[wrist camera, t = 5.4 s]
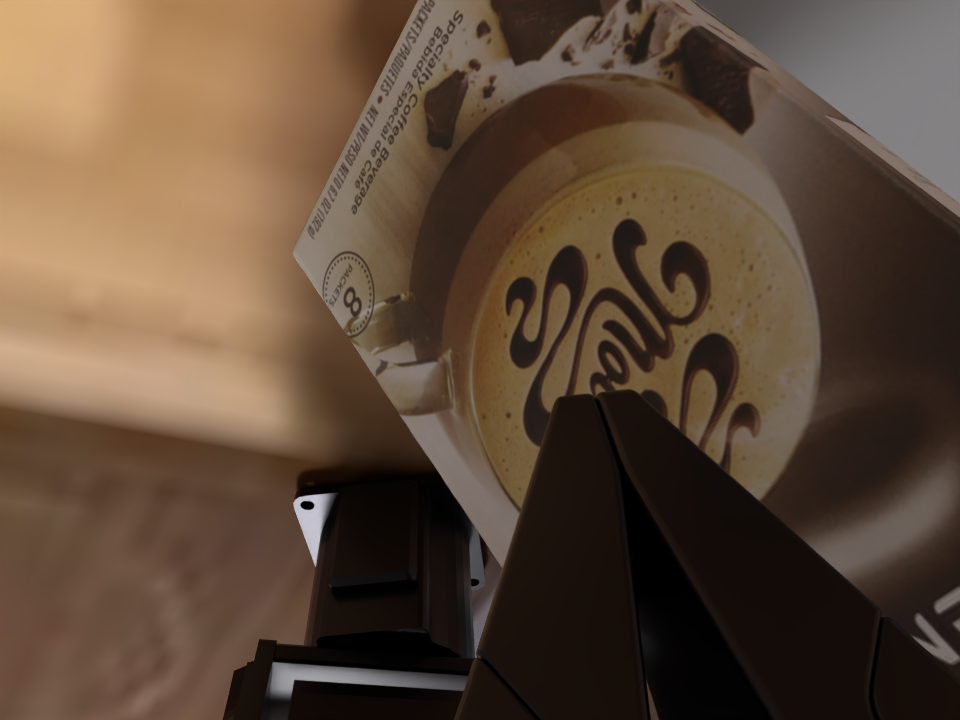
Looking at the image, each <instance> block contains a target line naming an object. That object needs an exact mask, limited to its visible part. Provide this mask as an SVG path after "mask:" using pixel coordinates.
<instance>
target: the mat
mask: <svg viewBox="0 0 960 720" xmlns="http://www.w3.org/2000/svg"><path fill="white" fill-rule="evenodd" d="M694 1H696V2H697V3H699V4H700V5H701V6H703V7H704V8H705V9H707V10H708V11H709V12H711V13H712V14H713V15H714V16H716V17H717V18H718V19H720V20H721V21H722V22H724V23H725V24H726V25H728V26H729V27H730V28H731V29H733V30H734V31H735V32H737V33H738V34H739V35H741V36H742V37H743V38H744V39H746V40H747V41H748V42H750V43H751V44H752V45H754V46H755V47H756V48H758V49H759V50H760V51H761V52H763V53H764V54H765V55H767V56H768V57H769V58H771V59H772V60H773V61H774V62H776V63H777V64H778V65H780V66H781V67H782V68H783V69H785V70H786V71H787V72H789V73H790V74H791V75H793V76H794V77H795V78H796V79H798V80H799V81H800V82H802V83H803V84H804V85H805V86H807V87H808V88H809V89H811V90H812V91H813V92H814V93H816V94H817V95H818V96H820V97H821V98H822V99H824V100H825V101H826V102H827V103H829V104H830V105H831V106H833V107H834V108H835V109H836V110H838V111H839V112H840V113H842V114H843V115H844V116H846V117H847V118H848V119H849V120H851V121H852V122H853V123H855V124H856V125H857V126H859V127H860V128H861V129H863V130H864V131H865V132H867V133H868V134H869V135H871V136H872V137H873V138H875V139H876V140H877V141H879V142H880V143H881V144H883V145H884V146H885V147H887V148H888V149H889V150H890V151H892V152H893V153H894V154H896V155H897V156H898V157H899V158H901V159H902V160H903V161H905V162H906V163H907V164H909V165H910V166H911V167H912V168H914V169H915V170H916V171H918V172H919V173H920V174H922V175H923V176H924V177H925V178H927V179H928V180H929V181H931V182H932V183H933V184H935V185H936V186H937V187H938V188H940V189H941V190H942V191H944V192H945V193H946V194H948V195H949V196H950V197H952V198H953V199H954V200H956V201H957V202H958V203H960V0H694Z"/></svg>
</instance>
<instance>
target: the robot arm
mask: <svg viewBox="0 0 960 720" xmlns="http://www.w3.org/2000/svg"><path fill="white" fill-rule="evenodd" d="M307 501H311V502H307ZM294 509H295V512H296V514H297V517H298V520H299V523H300V525H301V528H302V531H303V534H304V536H305V539H306V542H307V545H308V547H309V550H310V553H311V556H312V558H313V561H314V564H315V567H316V568H315V575H314V582H313V588H312V595H311V602H310V608H309V615H308V621H307V628H306V635H305V641H304V645H290V644H277V640H264V639H259V643H258V647H257V651H256V655H255V659H254V661H251V662H248V663H247V666H244V667H242V668H240V669H238V670H235V671H234V674H233V678H232V682H231V687H230V691H229V696H228V700H227V704H226V709H225V713H224V717H223V720H651V715H650V707H649V698H648V690H647V683H648V686H649V690H650V693H651V696H652V699H653V702H654V706H655V709H656V712H657V715H658V718H659V720H960V678H959V677H958V676H957V675H956V674H954V673H953V672H952V671H951V670H950V669H949V668H947V667H946V666H945V665H944V664H943V663H942V662H940V661H939V660H938V659H937V658H936V657H935V656H933V655H932V654H931V653H930V652H929V651H927V650H926V649H925V648H924V647H923V646H922V645H921V644H920V643H918V642H917V641H916V640H915V639H914V638H913V637H912V636H911V635H909V634H908V633H907V632H906V631H905V630H904V629H903V628H902V627H901V626H899V625H898V624H897V623H896V622H895V621H894V620H893V619H892V618H890V617H883V618H882V611H881V609H880V608H879V607H878V606H876V605H875V604H874V603H873V602H872V601H871V600H870V599H869V598H868V597H866V596H865V595H864V594H863V593H862V592H861V591H860V590H859V589H857V588H856V587H855V586H854V585H853V584H852V583H851V582H850V581H848V580H847V579H846V578H845V577H844V576H843V575H842V574H841V573H840V572H838V571H837V570H836V569H835V568H834V567H833V566H832V565H831V564H829V563H828V562H827V561H826V560H825V559H824V558H823V557H822V556H820V555H819V554H818V553H817V552H816V551H815V550H814V549H813V548H811V547H810V546H809V545H808V544H807V543H806V542H805V541H804V540H803V539H801V538H800V537H799V536H798V535H797V534H796V533H795V532H794V531H792V530H791V529H790V528H789V527H788V526H787V525H786V524H785V523H783V522H782V521H781V520H780V519H779V518H778V517H777V516H776V515H775V514H773V513H772V512H771V511H770V510H769V509H768V508H767V507H766V506H764V505H763V504H762V503H761V502H760V501H759V500H758V499H757V498H755V497H754V496H753V495H752V494H751V493H750V492H749V491H748V490H747V489H745V488H744V487H743V486H742V485H741V484H740V483H739V482H738V481H736V480H735V479H734V478H733V477H732V476H731V475H730V474H729V473H727V472H726V471H725V470H724V469H723V468H722V467H721V466H720V465H718V464H717V463H716V462H715V461H714V460H713V459H712V458H711V457H710V456H708V455H707V454H706V453H705V452H704V451H703V450H702V449H701V448H699V447H698V446H697V445H696V444H695V443H694V442H693V441H692V440H690V439H689V438H688V437H687V436H686V435H685V434H684V433H683V432H682V431H680V430H679V429H678V428H677V427H676V426H675V425H674V424H673V423H671V422H670V421H669V420H668V419H667V418H666V417H665V416H664V415H662V414H661V413H660V412H659V411H658V410H657V409H656V408H655V407H654V406H652V405H651V404H650V403H649V402H648V401H647V400H646V399H645V398H643V397H642V396H641V395H640V394H639V393H638V392H636V391H634V390H632V389H623V390H614V391H605V392H600V393H598V394H597V395H596V397H594V396H593V395H591V394H588V393H586V394H577V395H568V396H560V397H558V398H557V399H556V400H555V402H554V404H553V408H552V411H551V414H550V417H549V421H548V424H547V427H546V430H545V433H544V437H543V440H542V443H541V446H540V449H539V453H538V456H537V459H536V462H535V465H534V469H533V472H532V475H531V478H530V482H529V485H528V488H527V491H526V494H525V498H524V501H523V504H522V507H521V510H520V514H519V517H518V520H517V523H516V526H515V530H514V533H513V536H512V539H511V543H510V546H509V549H508V552H507V555H506V559H505V562H504V565H503V568H502V571H501V575H500V578H499V581H498V584H497V587H496V591H495V594H494V597H493V600H492V604H491V607H490V610H489V613H488V616H487V620H486V623H485V626H484V629H483V632H482V636H481V639H480V642H479V645H478V648H477V652H476V655H477V658H475V651H474V631H473V611H472V591H471V590H476V589H480V588H482V587H483V586H484V585H485V571H484V563H483V556H482V549H481V542H480V535H479V532H478V531H477V529H476V528H475V526H474V525H473V523H472V522H471V520H470V519H469V517H468V516H467V514H466V512H465V511H464V509H463V508H462V506H461V505H460V503H459V502H458V501H457V499H456V498H455V497H454V495H453V494H452V492H451V490H450V489H449V487H448V486H447V484H446V483H445V481H444V480H443V478H442V477H441V475H440V474H436V475H426V476H416V477H407V478H397V479H387V480H377V481H367V482H357V483H347V484H338V485H328V486H318V487H308V488H303V489H300V490H298V491H297V492H296V494H295V498H294ZM646 680H647V681H646Z"/></svg>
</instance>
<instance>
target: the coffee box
mask: <svg viewBox="0 0 960 720" xmlns="http://www.w3.org/2000/svg"><path fill="white" fill-rule="evenodd" d="M293 256H294V257H295V259H296V260H297V262H298V263H299V265H300V266H301V268H302V269H303V270H304V272H305V273H306V275H307V276H308V278H309V279H310V281H311V283H312V284H313V286H314V287H315V289H316V290H317V292H318V293H319V295H320V296H321V298H322V299H323V301H324V302H325V303H326V305H327V306H328V308H329V309H330V311H331V312H332V314H333V315H334V317H335V319H336V320H337V322H338V323H339V325H340V326H341V328H342V329H343V330H344V332H345V333H346V334H347V336H348V337H349V339H350V341H351V343H352V344H353V345H354V347H355V348H356V349H357V351H358V352H359V354H360V356H361V357H362V359H363V360H364V362H365V363H366V365H367V366H368V368H369V370H370V371H371V373H372V374H373V375H374V376H375V378H376V379H377V381H378V382H379V384H380V386H381V387H382V389H383V391H384V392H385V394H386V395H387V396H388V398H389V399H390V401H391V402H392V404H393V405H394V406H395V408H396V409H397V411H398V413H399V415H400V416H401V418H402V419H403V420H404V422H405V423H406V425H407V426H408V428H409V430H410V431H411V433H412V434H413V436H414V437H415V439H416V440H417V442H418V443H419V445H420V446H421V447H422V449H423V450H424V452H425V453H426V455H427V456H428V457H429V459H430V460H431V462H432V463H433V465H434V466H435V468H436V469H437V471H438V472H439V474H440V475H441V477H442V478H443V480H444V481H445V483H446V484H447V486H448V487H449V489H450V490H451V492H452V494H453V495H454V497H455V498H456V499H457V501H458V502H459V503H460V505H461V506H462V508H463V509H464V511H465V512H466V514H467V516H468V517H469V519H470V520H471V522H472V523H473V525H474V526H475V528H476V529H477V531H478V532H479V534H480V535H481V537H482V538H483V540H484V541H485V543H486V544H487V546H488V547H489V549H490V550H491V552H492V553H493V555H494V556H495V558H496V559H497V561H498V562H499V564H500V565H501V567H502V568H503V565H504V562H505V559H506V555H507V552H508V549H509V546H510V543H511V539H512V536H513V533H514V530H515V526H516V523H517V520H518V517H519V514H520V510H521V507H522V504H523V501H524V498H525V494H526V491H527V488H528V485H529V482H530V478H531V475H532V472H533V469H534V465H535V462H536V459H537V456H538V453H539V449H540V446H541V443H542V440H543V437H544V433H545V430H546V427H547V424H548V421H549V417H550V414H551V411H552V408H553V404H554V402H555V400H556V399H557V398H558V397H560V396H568V395H577V394H586V393H588V394H591V395H593V396H594V397H596V395H597V394H598V393H600V392H605V391H614V390H623V389H632V390H634V391H636V392H638V393H639V394H640V395H641V396H642V397H643V398H645V399H646V400H647V401H648V402H649V403H650V404H651V405H652V406H654V407H655V408H656V409H657V410H658V411H659V412H660V413H661V414H662V415H664V416H665V417H666V418H667V419H668V420H669V421H670V422H671V423H673V424H674V425H675V426H676V427H677V428H678V429H679V430H680V431H682V432H683V433H684V434H685V435H686V436H687V437H688V438H689V439H690V440H692V441H693V442H694V443H695V444H696V445H697V446H698V447H699V448H701V449H702V450H703V451H704V452H705V453H706V454H707V455H708V456H710V457H711V458H712V459H713V460H714V461H715V462H716V463H717V464H718V465H720V466H721V467H722V468H723V469H724V470H725V471H726V472H727V473H729V474H730V475H731V476H732V477H733V478H734V479H735V480H736V481H738V482H739V483H740V484H741V485H742V486H743V487H744V488H745V489H747V490H748V491H749V492H750V493H751V494H752V495H753V496H754V497H755V498H757V499H758V500H759V501H760V502H761V503H762V504H763V505H764V506H766V507H767V508H768V509H769V510H770V511H771V512H772V513H773V514H775V515H776V516H777V517H778V518H779V519H780V520H781V521H782V522H783V523H785V524H786V525H787V526H788V527H789V528H790V529H791V530H792V531H794V532H795V533H796V534H797V535H798V536H799V537H800V538H801V539H803V540H804V541H805V542H806V543H807V544H808V545H809V546H810V547H811V548H813V549H814V550H815V551H816V552H817V553H818V554H819V555H820V556H822V557H823V558H824V559H825V560H826V561H827V562H828V563H829V564H831V565H832V566H833V567H834V568H835V569H836V570H837V571H838V572H840V573H841V574H842V575H843V576H844V577H845V578H846V579H847V580H848V581H850V582H851V583H852V584H853V585H854V586H855V587H856V588H857V589H859V590H860V591H861V592H862V593H863V594H864V595H865V596H866V597H868V598H869V599H870V600H871V601H872V602H873V603H874V604H875V605H876V606H878V607H879V608H880V609H881V611H882V618H883V617H890V618H892V619H893V620H894V621H895V622H896V623H897V624H898V625H899V626H901V627H902V628H903V629H904V630H905V631H906V632H907V633H908V634H909V635H911V636H912V637H913V638H914V639H915V640H916V641H917V642H918V643H920V644H921V645H922V646H923V647H924V648H925V649H926V650H927V651H929V652H930V653H931V654H932V655H933V656H935V657H936V658H937V659H938V660H939V661H940V662H942V663H943V664H944V665H945V666H946V667H947V668H949V669H950V670H951V671H952V672H953V673H954V674H956V675H957V676H958V677H959V678H960V203H958V202H957V201H956V200H954V199H953V198H952V197H950V196H949V195H948V194H946V193H945V192H944V191H942V190H941V189H940V188H938V187H937V186H936V185H935V184H933V183H932V182H931V181H929V180H928V179H927V178H925V177H924V176H923V175H922V174H920V173H919V172H918V171H916V170H915V169H914V168H912V167H911V166H910V165H909V164H907V163H906V162H905V161H903V160H902V159H901V158H899V157H898V156H897V155H896V154H894V153H893V152H892V151H890V150H889V149H888V148H887V147H885V146H884V145H883V144H881V143H880V142H879V141H877V140H876V139H875V138H873V137H872V136H871V135H869V134H868V133H867V132H865V131H864V130H863V129H861V128H860V127H859V126H857V125H856V124H855V123H853V122H852V121H851V120H849V119H848V118H847V117H846V116H844V115H843V114H842V113H840V112H839V111H838V110H836V109H835V108H834V107H833V106H831V105H830V104H829V103H827V102H826V101H825V100H824V99H822V98H821V97H820V96H818V95H817V94H816V93H814V92H813V91H812V90H811V89H809V88H808V87H807V86H805V85H804V84H803V83H802V82H800V81H799V80H798V79H796V78H795V77H794V76H793V75H791V74H790V73H789V72H787V71H786V70H785V69H783V68H782V67H781V66H780V65H778V64H777V63H776V62H774V61H773V60H772V59H771V58H769V57H768V56H767V55H765V54H764V53H763V52H761V51H760V50H759V49H758V48H756V47H755V46H754V45H752V44H751V43H750V42H748V41H747V40H746V39H744V38H743V37H742V36H741V35H739V34H738V33H737V32H735V31H734V30H733V29H731V28H730V27H729V26H728V25H726V24H725V23H724V22H722V21H721V20H720V19H718V18H717V17H716V16H714V15H713V14H712V13H711V12H709V11H708V10H707V9H705V8H704V7H703V6H701V5H700V4H699V3H697V2H696V1H694V0H418V1H417V3H416V5H415V7H414V9H413V11H412V13H411V15H410V17H409V19H408V21H407V23H406V25H405V27H404V29H403V31H402V33H401V35H400V37H399V39H398V41H397V43H396V45H395V47H394V49H393V51H392V53H391V55H390V57H389V59H388V61H387V63H386V65H385V67H384V69H383V71H382V73H381V75H380V77H379V79H378V81H377V83H376V85H375V87H374V89H373V91H372V93H371V95H370V97H369V99H368V101H367V103H366V105H365V107H364V109H363V111H362V113H361V115H360V117H359V119H358V121H357V123H356V125H355V127H354V129H353V131H352V133H351V135H350V137H349V139H348V141H347V143H346V145H345V147H344V149H343V151H342V153H341V155H340V157H339V159H338V161H337V163H336V165H335V167H334V169H333V171H332V173H331V175H330V177H329V179H328V181H327V183H326V185H325V187H324V189H323V191H322V193H321V195H320V197H319V199H318V201H317V203H316V205H315V206H314V208H313V210H312V212H311V214H310V216H309V218H308V220H307V222H306V224H305V226H304V228H303V230H302V232H301V234H300V236H299V238H298V240H297V242H296V244H295V246H294V249H293ZM646 681H647V680H646ZM647 690H648V698H649V707H650V715H651V720H659V718H658V715H657V712H656V709H655V706H654V702H653V699H652V696H651V693H650V690H649V686H648V683H647Z"/></svg>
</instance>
